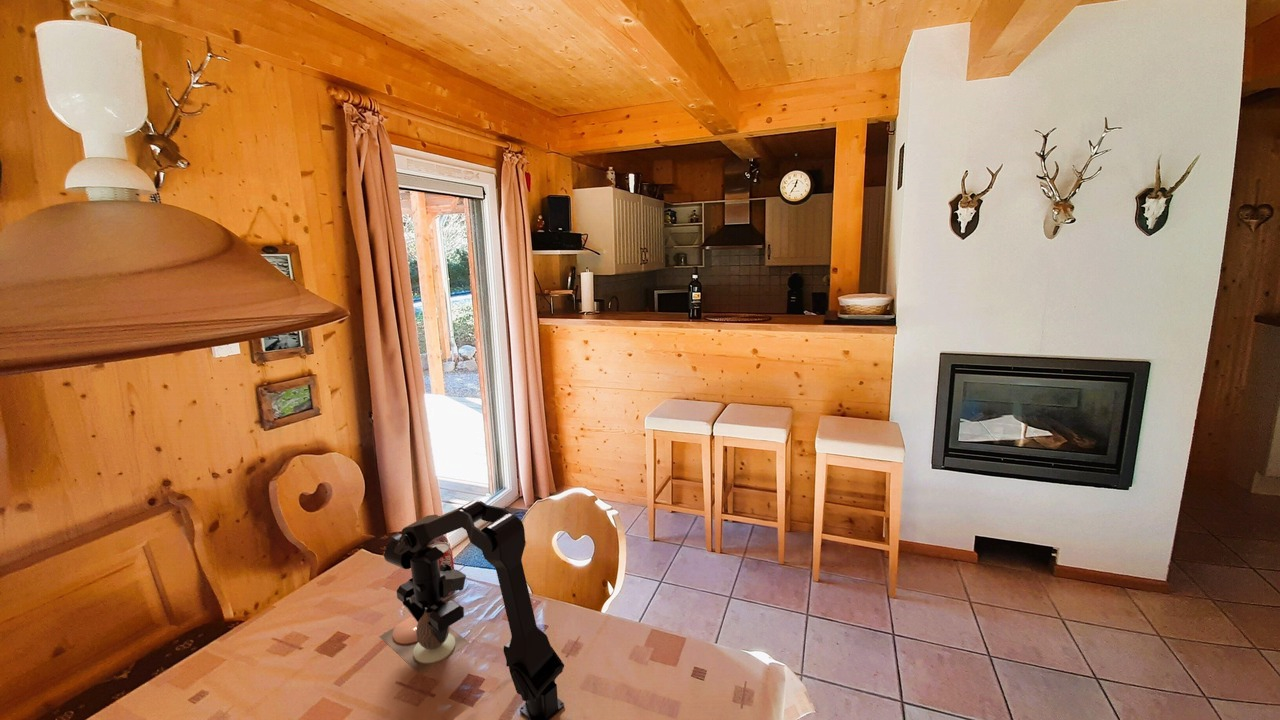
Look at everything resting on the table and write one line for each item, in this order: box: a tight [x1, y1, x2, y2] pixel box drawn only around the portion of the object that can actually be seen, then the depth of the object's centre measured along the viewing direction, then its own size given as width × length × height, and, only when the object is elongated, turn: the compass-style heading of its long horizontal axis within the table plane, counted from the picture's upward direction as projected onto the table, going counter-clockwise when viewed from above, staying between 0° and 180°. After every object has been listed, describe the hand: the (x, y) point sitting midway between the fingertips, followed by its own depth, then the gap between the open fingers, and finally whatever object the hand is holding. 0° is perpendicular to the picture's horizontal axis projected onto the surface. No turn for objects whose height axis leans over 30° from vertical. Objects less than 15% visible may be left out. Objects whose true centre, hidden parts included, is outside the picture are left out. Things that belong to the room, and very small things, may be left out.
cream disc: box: [413, 633, 456, 664], centre depth 119 cm, size 9×9×1 cm
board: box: [378, 626, 470, 676], centre depth 122 cm, size 19×12×1 cm, turn 51°
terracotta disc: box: [393, 616, 418, 644], centre depth 125 cm, size 9×9×1 cm
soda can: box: [429, 541, 455, 595], centre depth 140 cm, size 7×7×13 cm
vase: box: [416, 607, 450, 650], centre depth 118 cm, size 7×7×9 cm
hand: (433, 634), depth 119 cm, fingers closed on vase, 7 cm apart
